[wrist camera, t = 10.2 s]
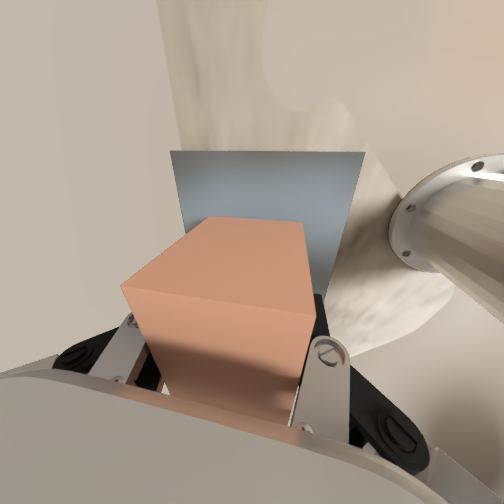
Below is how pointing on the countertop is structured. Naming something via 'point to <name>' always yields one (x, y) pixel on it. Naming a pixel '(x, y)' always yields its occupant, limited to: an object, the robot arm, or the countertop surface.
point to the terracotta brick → (229, 314)
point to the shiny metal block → (273, 194)
